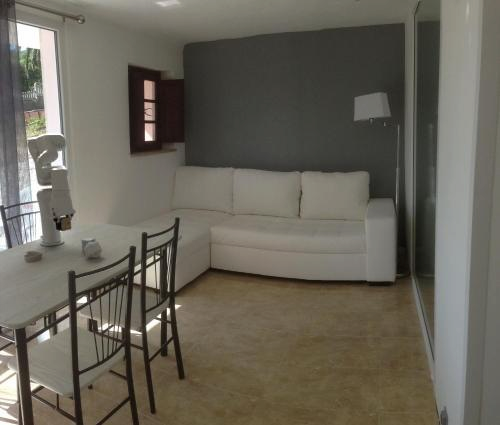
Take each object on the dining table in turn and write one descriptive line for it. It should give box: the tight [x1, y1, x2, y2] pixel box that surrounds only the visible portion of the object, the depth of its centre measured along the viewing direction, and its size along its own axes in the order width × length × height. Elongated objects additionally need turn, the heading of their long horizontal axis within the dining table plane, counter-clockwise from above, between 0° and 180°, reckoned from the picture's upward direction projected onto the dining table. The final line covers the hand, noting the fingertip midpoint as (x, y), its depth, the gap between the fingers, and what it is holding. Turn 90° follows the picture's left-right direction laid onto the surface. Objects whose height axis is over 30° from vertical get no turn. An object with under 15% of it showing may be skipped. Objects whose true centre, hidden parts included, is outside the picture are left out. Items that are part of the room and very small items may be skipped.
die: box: [83, 241, 103, 259], centre depth 246 cm, size 8×9×10 cm
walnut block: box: [56, 216, 72, 232], centre depth 239 cm, size 5×5×6 cm
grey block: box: [81, 237, 96, 252], centre depth 259 cm, size 5×5×6 cm
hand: (63, 228), depth 240 cm, fingers closed on walnut block, 5 cm apart
